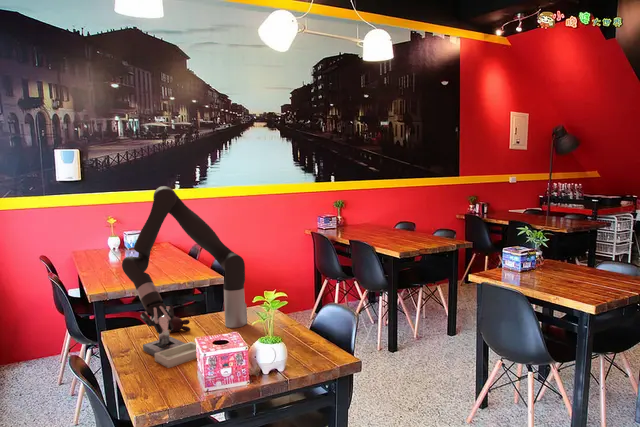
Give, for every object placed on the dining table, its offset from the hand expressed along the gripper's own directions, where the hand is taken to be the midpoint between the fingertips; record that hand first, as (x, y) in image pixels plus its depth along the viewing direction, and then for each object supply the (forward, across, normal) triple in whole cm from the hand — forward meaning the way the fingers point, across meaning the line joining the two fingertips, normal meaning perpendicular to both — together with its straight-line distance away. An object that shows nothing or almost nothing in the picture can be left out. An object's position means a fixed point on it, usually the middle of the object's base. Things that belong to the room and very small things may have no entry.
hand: (166, 331), depth 188 cm
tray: (+13, 0, -2) cm, 13 cm away
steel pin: (+2, 0, +5) cm, 5 cm away
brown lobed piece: (-8, +14, +20) cm, 25 cm away
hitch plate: (+4, 0, +7) cm, 8 cm away
